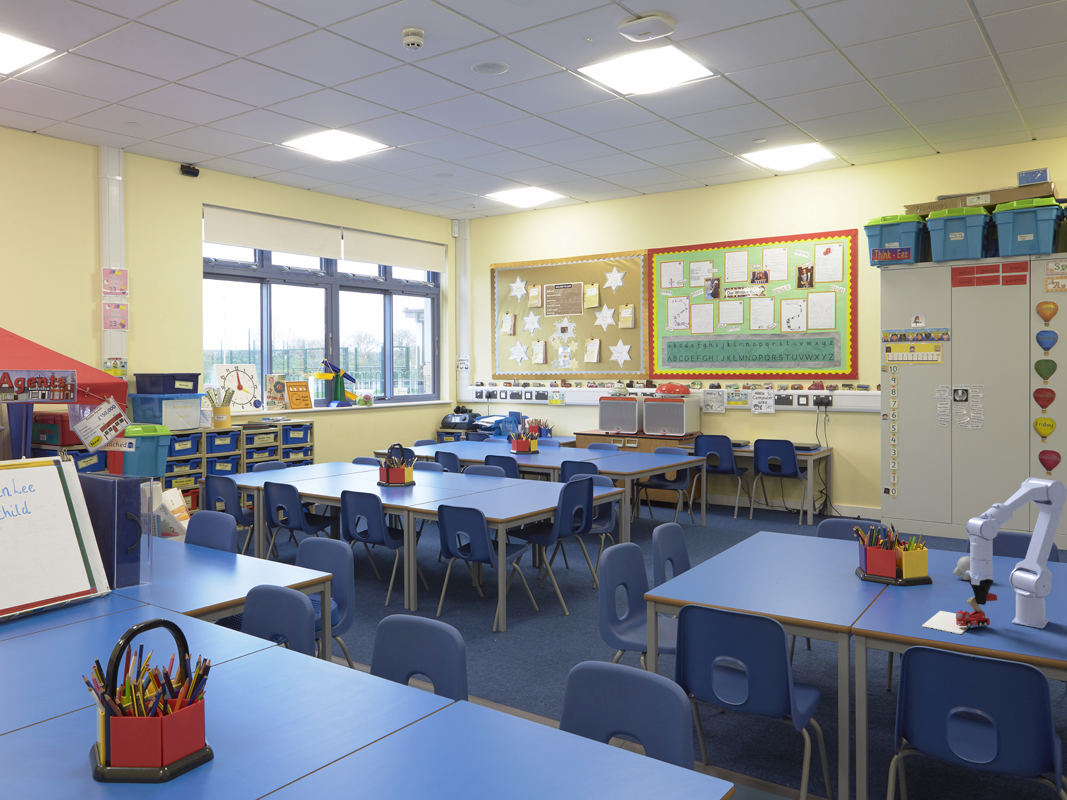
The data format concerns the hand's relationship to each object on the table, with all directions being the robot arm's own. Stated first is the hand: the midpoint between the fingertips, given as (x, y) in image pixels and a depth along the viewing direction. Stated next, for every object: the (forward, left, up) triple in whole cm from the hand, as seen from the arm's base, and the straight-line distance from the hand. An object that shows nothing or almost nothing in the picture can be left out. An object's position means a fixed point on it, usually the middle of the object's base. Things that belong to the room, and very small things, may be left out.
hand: (981, 603), depth 222 cm
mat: (0, -8, -7) cm, 11 cm away
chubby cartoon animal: (-56, -15, -8) cm, 59 cm away
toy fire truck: (0, -1, -7) cm, 7 cm away
